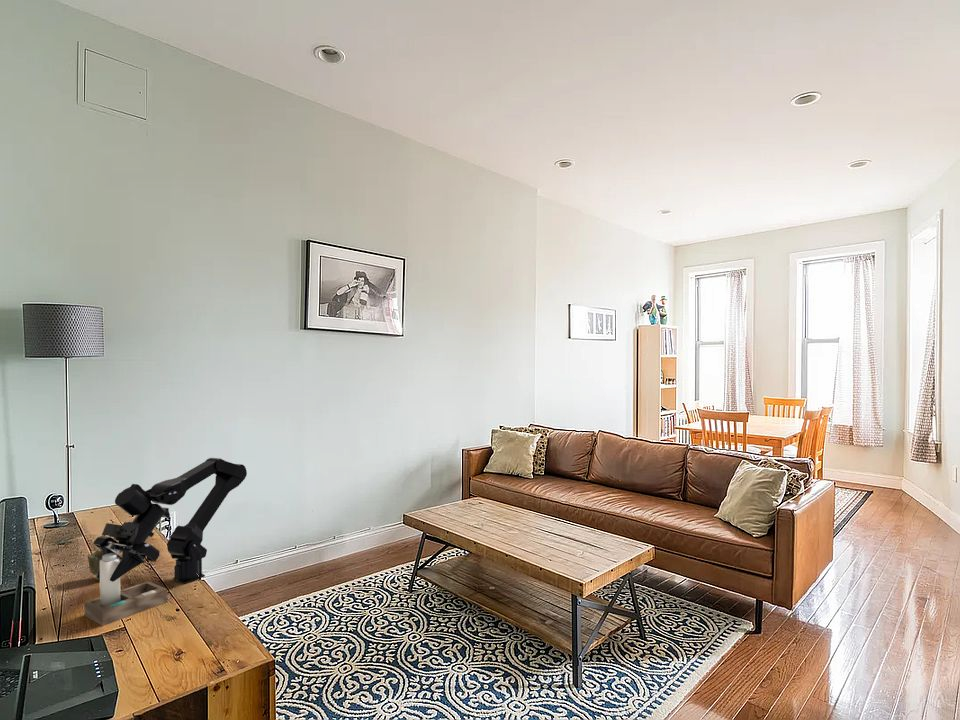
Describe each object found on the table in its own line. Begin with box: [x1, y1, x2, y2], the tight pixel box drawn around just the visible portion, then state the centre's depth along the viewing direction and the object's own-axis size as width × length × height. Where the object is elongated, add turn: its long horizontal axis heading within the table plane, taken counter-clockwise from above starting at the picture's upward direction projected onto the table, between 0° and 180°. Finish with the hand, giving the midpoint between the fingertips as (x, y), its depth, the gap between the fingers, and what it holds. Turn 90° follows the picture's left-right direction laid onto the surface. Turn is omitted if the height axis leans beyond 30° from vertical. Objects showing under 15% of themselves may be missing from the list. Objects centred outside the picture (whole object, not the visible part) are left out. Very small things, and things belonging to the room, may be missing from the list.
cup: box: [87, 549, 103, 581], centre depth 167 cm, size 8×7×8 cm
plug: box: [99, 553, 121, 607], centre depth 144 cm, size 4×4×12 cm
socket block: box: [83, 581, 168, 626], centre depth 147 cm, size 16×10×4 cm, turn 147°
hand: (104, 579), depth 143 cm, fingers closed on plug, 4 cm apart
